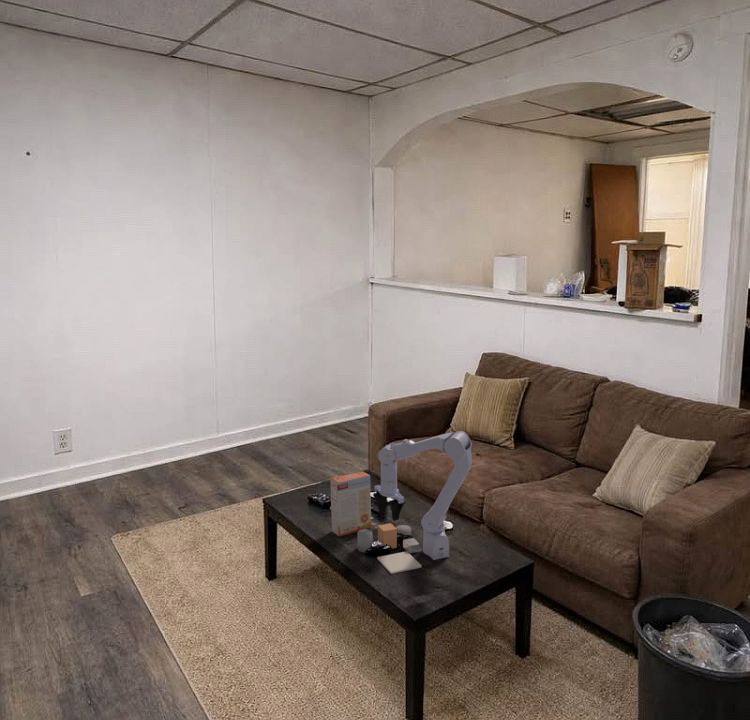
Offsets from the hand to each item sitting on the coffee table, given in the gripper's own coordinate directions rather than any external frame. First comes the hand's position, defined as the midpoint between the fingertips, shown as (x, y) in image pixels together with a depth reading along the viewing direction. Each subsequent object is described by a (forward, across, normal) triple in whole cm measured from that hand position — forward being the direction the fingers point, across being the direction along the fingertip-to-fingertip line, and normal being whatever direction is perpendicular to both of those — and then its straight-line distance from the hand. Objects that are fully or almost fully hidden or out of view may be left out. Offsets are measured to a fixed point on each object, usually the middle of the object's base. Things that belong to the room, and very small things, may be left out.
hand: (388, 516), depth 220 cm
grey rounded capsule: (+10, +1, +10) cm, 14 cm away
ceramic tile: (+10, -14, +6) cm, 18 cm away
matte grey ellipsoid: (+10, +2, -8) cm, 13 cm away
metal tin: (+10, -9, -3) cm, 14 cm away
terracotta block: (+10, -2, +2) cm, 10 cm away
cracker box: (+10, +16, +5) cm, 20 cm away
